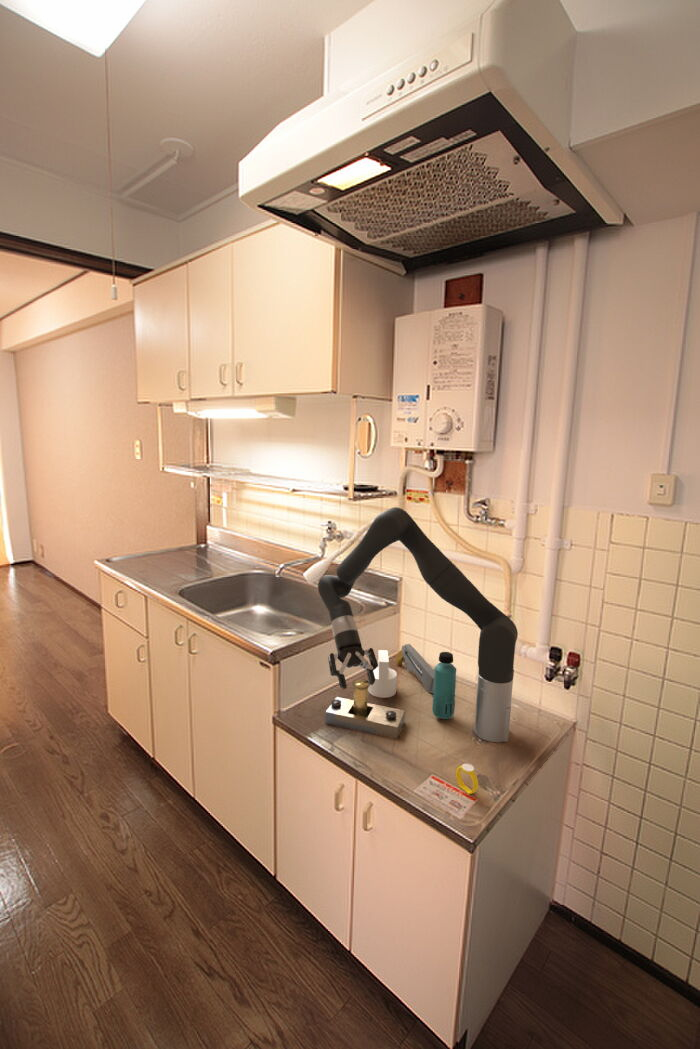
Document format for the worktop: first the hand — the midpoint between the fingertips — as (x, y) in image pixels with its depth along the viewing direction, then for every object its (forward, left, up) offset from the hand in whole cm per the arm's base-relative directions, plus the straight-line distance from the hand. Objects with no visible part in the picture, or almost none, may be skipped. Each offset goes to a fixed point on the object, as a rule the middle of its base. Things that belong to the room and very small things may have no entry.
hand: (358, 686), depth 144 cm
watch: (-33, +19, -10) cm, 40 cm away
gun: (-11, -31, -11) cm, 35 cm away
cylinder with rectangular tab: (-2, -19, -10) cm, 22 cm away
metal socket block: (-3, +1, -10) cm, 11 cm away
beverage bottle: (-23, -10, -10) cm, 27 cm away
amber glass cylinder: (-1, +1, -10) cm, 10 cm away
